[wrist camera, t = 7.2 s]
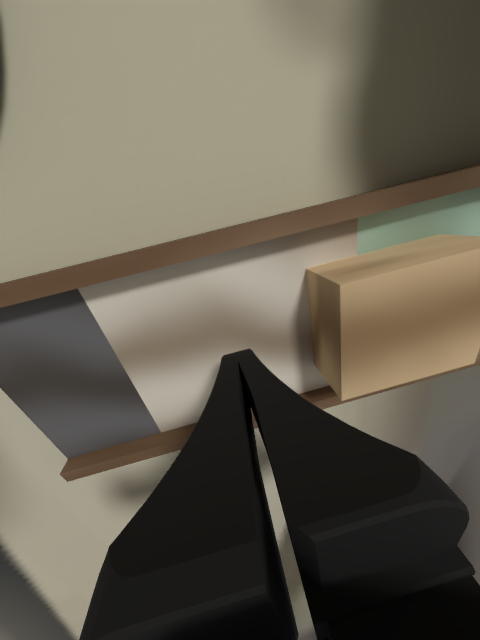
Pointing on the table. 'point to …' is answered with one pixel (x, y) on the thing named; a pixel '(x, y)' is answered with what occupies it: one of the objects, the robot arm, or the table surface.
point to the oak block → (396, 313)
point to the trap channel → (195, 319)
